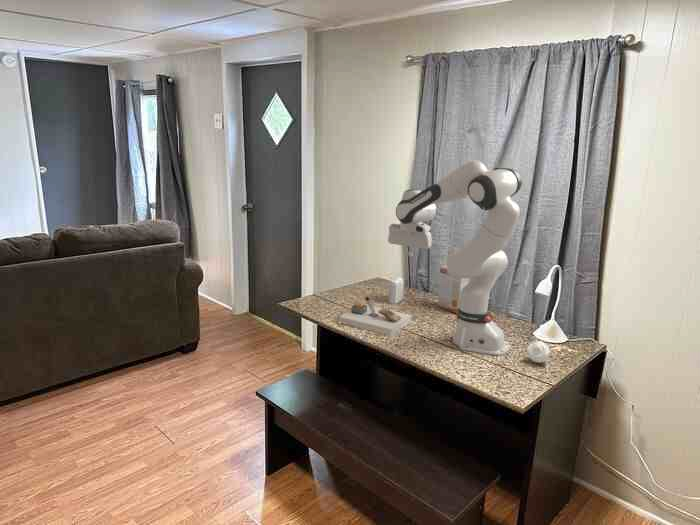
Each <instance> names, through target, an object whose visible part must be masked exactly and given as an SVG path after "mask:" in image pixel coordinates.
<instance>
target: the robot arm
mask: <svg viewBox="0 0 700 525" xmlns="http://www.w3.org/2000/svg"><path fill="white" fill-rule="evenodd" d="M522 185H523V180H522V176H521V174H520V173H519V172H518V170H516V169H515V168H514V169H513V168H508V167H507V168H506V167H495V168H493V169H491V170H489V169H488V168H487V166H486V165H485V164H484V163H483V162H481V161H479V160H474V159H473V160H470V161H467V162H465V163H464V164H462V165H460V166H459V167H457V168H456V169H454V170H453V171H452V172H450V173H449V174H447V175H446V176H444V177H443V178H441V179H440V180H439V181H437V182H435V183H433V184H431V185H430V186H428V187H427V188H425V189H424V190H422V191H421V190H420V189H414V188H413V189H406V190H404V191H403V194H402V195H401V196H402V197H401V200H400V201H399V203H398V204H397V205H396V208H395V217H396V218H397V220H399V223H400V224H399V223H392V224H390V225H389V227H388V231H389V232H388V237H387V241H388V244H392V245H395V246H396V245H399V246H402V248H403V251H404V256H407V257H413V252H414V251H415V249H416V248H417V249H423V250H428V249H430V248H431V247H432V244H433V243H432V242H433V241H432V240H433V239H432V233H431V232H430V231H431V225H428V224H427V223H424V222H430V221H433V220H434V219H435V218H436V216H437V215H438V214H437V213H438V206H437V204H439V203H452V202H457V201H461V200H463V199H465V198H467V197H469V199H470V200H471V201H472V202H473V204H474V205H476V206H479V208H480V210H482V211H483V210H484V211H487V213H486V215H485V217H484V219H483V220H482V222H481V224H480V226H479V228H478V229H477V231H476V234H474V236H473V237H472V238H471V239H470V240H469V241H468V242H467V243H466V244H465V245H464V246H462V247H461V248H460V249H458V250H456V251H454V252H453V253H451V254H449V256H448V257H447V261H446V265H447V269H448V272H449V273H450V275H451V276H453V277H456V278H464V279H465V278H469V283H468V284H467V285H465V286H464V287H463V288H462V290H461V294H460V306H459V308H458V313H457V314H456V317H457V324H456V328H455V332H454V334H453V338H452V342H453V343H454V344H455V345H456V346H458V347H459V349H461V350H462V351H469V352H475V353H481V354H486V355H491V356H498V357H499V356H500V357H501V356H503V355H505V354H507V353H508V352H509V350H510V346H511V345H510V344H511V343H510V342H509V341H507V340H505V339H506V338H505V333H504V330H502V328H500V327H499V326H498V325H497V324H496V323H495V322H494V321H493V320H492V319H493V312H490V311H489V300H490V295H491V292H492V291H491V290H492V288H493V286H494V284H495V283H496V281H497V279H499V277H500V276H501V275H502V274H504V273H505V271H506V270H507V268H508V264H509V261H508V260H509V259H508V256H507V254H506V252H505V251H503V248H504V247H505V245H506V243H507V242H508V240H509V238H510V237H511V235H512V233H513V231H514V229H515V227H516V226H517V225H516V224H517V223H518V220H519V218H520V217H519V216H520V213H521V211H520V207H519V205H518V204H517V203H516V202H515V201H513V200H512V199H511V197H513V196H515V195H516V194H517V193H519V191H520V190H521V188H522ZM408 247H409V249H410V250H409V251H408Z"/></svg>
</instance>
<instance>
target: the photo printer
mask: <svg viewBox="0 0 700 525" xmlns="http://www.w3.org/2000/svg"><path fill="white" fill-rule="evenodd" d="M388 291H389V292H388V303H389V304H390V305H391V304H392V305H396V304H398V303H399V302H401V301H402V300H403V299H404V279H403V278H402V277H399V276H398V277H395V278H393V279H392V280H391V282H390V283H389V290H388Z"/></svg>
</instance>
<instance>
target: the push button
mask: <svg viewBox="0 0 700 525" xmlns="http://www.w3.org/2000/svg"><path fill="white" fill-rule="evenodd" d="M355 304H356V307H358V308H362V307H363V305H364V303H363V302H360V301H359V302H356V303H355Z"/></svg>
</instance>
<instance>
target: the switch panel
mask: <svg viewBox="0 0 700 525" xmlns="http://www.w3.org/2000/svg"><path fill="white" fill-rule="evenodd" d="M373 308H374V310H375V313H373V314H372V313H371V310H370V308H369V306H368V304H363V307H362V308H358V307H356V303H355V304H353V305H352V306H351V308H350V310H349V311H347V312H345V313H343V314H341V315H340V316H339V317H338V323H339V322H342V323H345V324H348V325H347V326H349V325H352V326H351V327H353V326H355V327H354V328H357V327H359V328H358V329H361V328H362V329H363V330H365V329H366V331H369V330H370V331H369V332H373V331H374V333H377V334H381V335H386V336H390V337H392V336H393V335H394V334H396V333H397V332H399V331H400V330H401V329H402V328H404V327H406V325H408V324H410V323H411V322H412V315H411V314H407V313H402V312H398V311H394V310H390V311H391V312H393V313H395V314H397V315H398V316H400V317H401V319H400V320H398V321H397V322H394V321H392V320H390V319H389V318H387V317H385V316H383V315H382V314H380V313H378V312H379V310H381V309H382V308H381V307H375V306H373ZM345 324H344V325H345Z"/></svg>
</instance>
